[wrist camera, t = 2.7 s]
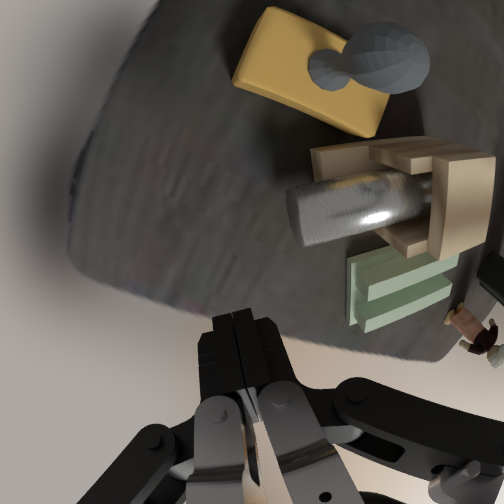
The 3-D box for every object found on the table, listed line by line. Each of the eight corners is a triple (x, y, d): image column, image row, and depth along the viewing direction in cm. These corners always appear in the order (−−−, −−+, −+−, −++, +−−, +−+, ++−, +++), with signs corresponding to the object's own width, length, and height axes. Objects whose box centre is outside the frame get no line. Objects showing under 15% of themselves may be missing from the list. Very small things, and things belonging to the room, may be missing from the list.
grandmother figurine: (439, 331, 36) (483, 386, 25) (438, 318, 34) (487, 376, 23) (471, 304, 35) (517, 352, 24) (472, 289, 33) (523, 339, 22)
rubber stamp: (371, 75, 18) (492, 73, 7) (348, 134, 20) (465, 170, 10) (257, 19, 15) (323, -63, 4) (229, 85, 17) (269, 46, 7)
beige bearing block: (309, 148, 20) (370, 173, 13) (425, 135, 21) (495, 156, 13) (319, 230, 23) (369, 287, 16) (424, 204, 24) (485, 241, 17)
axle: (290, 232, 21) (308, 259, 17) (282, 180, 19) (301, 198, 15) (431, 198, 22) (461, 214, 18) (432, 156, 20) (464, 167, 16)
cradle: (346, 258, 25) (364, 278, 22) (443, 228, 26) (463, 242, 23) (345, 319, 29) (359, 341, 26) (433, 285, 30) (450, 301, 27)
